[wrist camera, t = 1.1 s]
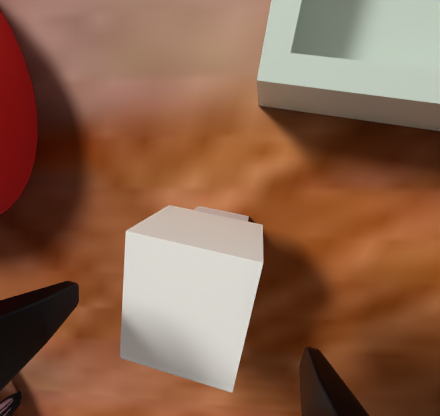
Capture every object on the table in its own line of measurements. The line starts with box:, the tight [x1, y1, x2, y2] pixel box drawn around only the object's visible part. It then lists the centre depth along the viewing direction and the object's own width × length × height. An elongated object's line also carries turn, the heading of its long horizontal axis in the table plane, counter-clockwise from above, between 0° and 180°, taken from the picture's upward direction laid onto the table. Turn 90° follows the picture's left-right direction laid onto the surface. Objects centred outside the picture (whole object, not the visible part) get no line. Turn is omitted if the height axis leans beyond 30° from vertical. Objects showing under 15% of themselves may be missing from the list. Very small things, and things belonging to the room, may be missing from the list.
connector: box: [120, 205, 263, 393], centre depth 12 cm, size 5×6×8 cm
